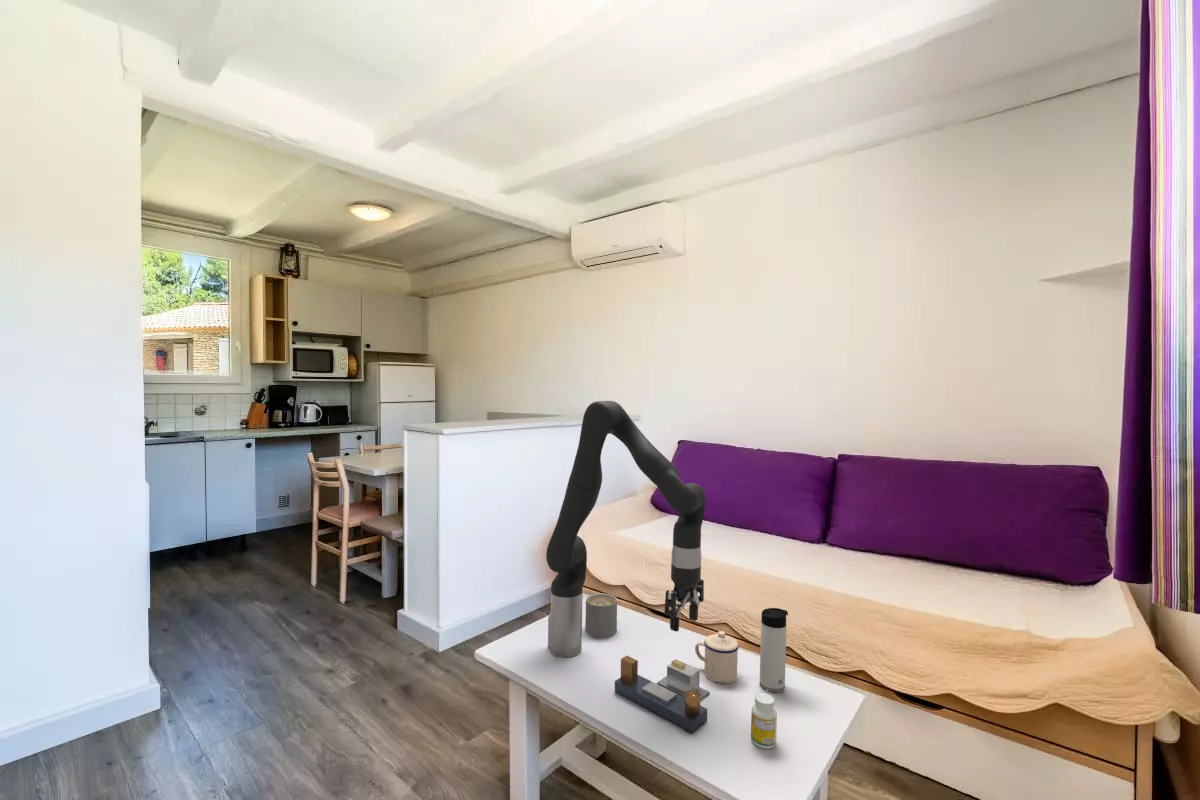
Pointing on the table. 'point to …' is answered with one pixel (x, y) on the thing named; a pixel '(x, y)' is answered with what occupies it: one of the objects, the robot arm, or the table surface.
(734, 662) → the teacup with lid
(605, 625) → the coffee mug
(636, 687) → the hand plane
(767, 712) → the supplement bottle
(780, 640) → the travel mug
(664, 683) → the rubber mat
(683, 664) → the lever cap
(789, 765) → the table surface
